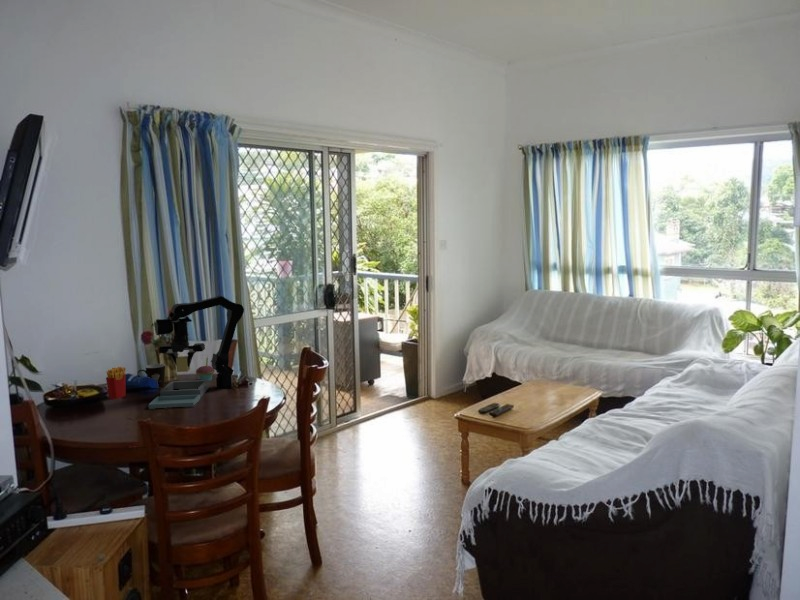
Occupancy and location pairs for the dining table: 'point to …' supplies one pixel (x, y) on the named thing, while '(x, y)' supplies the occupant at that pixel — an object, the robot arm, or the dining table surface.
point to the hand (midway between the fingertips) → (183, 367)
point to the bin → (185, 388)
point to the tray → (174, 401)
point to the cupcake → (205, 371)
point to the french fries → (116, 382)
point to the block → (182, 364)
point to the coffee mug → (155, 373)
